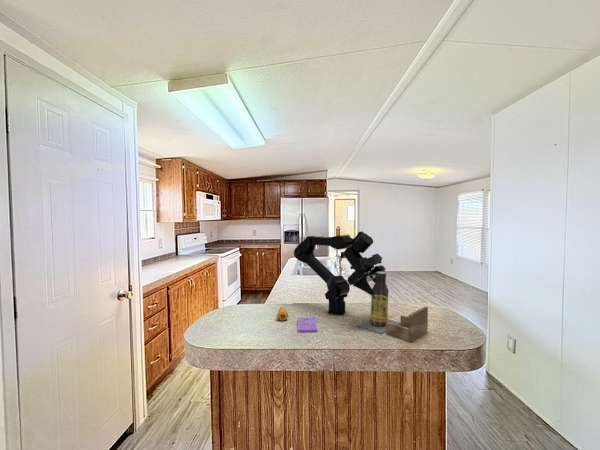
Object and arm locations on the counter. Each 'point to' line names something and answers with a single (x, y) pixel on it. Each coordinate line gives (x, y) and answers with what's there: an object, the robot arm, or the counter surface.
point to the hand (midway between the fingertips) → (380, 292)
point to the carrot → (282, 314)
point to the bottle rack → (410, 326)
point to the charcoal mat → (374, 328)
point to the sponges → (307, 325)
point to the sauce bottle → (379, 300)
